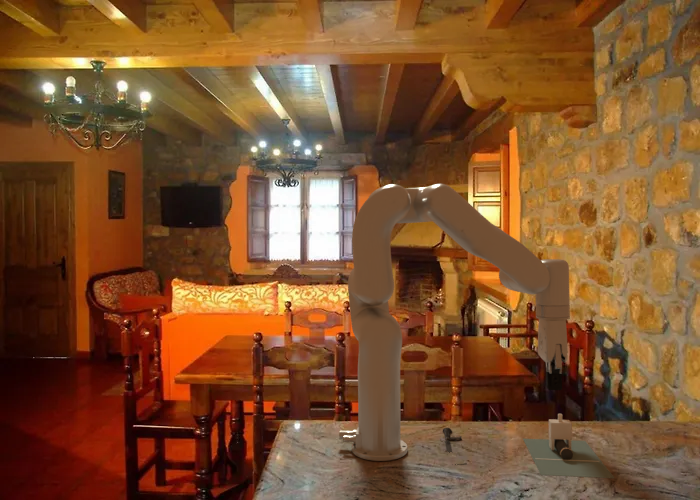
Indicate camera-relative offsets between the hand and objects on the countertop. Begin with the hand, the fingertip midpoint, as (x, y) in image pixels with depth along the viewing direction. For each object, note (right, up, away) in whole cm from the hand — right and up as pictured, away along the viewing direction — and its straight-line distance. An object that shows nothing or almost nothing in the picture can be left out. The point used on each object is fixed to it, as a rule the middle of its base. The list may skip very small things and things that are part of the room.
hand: (554, 389), depth 132 cm
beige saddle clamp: (-2, -11, -8) cm, 14 cm away
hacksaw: (-21, -13, -5) cm, 25 cm away
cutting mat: (-2, -12, -12) cm, 17 cm away
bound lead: (-2, -12, -9) cm, 15 cm away
